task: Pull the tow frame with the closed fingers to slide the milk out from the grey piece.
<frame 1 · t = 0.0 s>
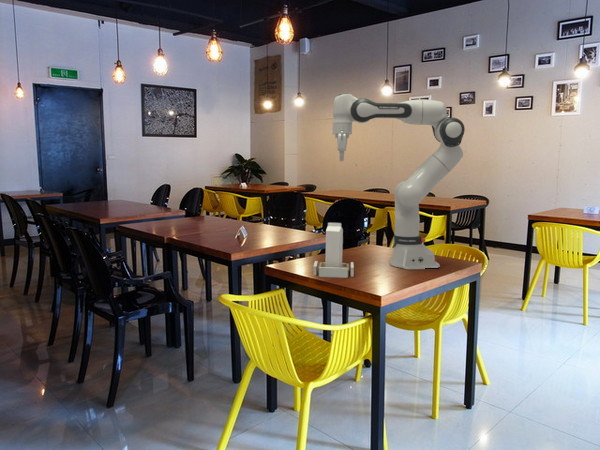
hand: (341, 161, 225), 48 cm above the table, tool pointing down, fingers open, 8 cm apart
tow frame: (333, 272, 213), on the table
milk: (333, 273, 213), resting in tow frame
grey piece: (333, 273, 213), on the table
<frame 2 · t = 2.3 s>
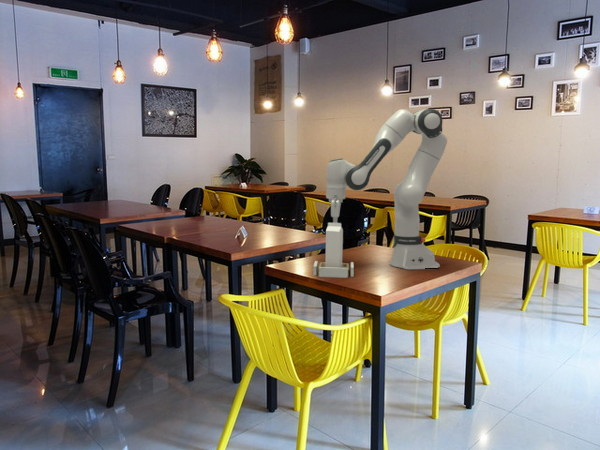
hand: (335, 224, 226), 19 cm above the table, tool pointing down, fingers closed
nothing on the table moved.
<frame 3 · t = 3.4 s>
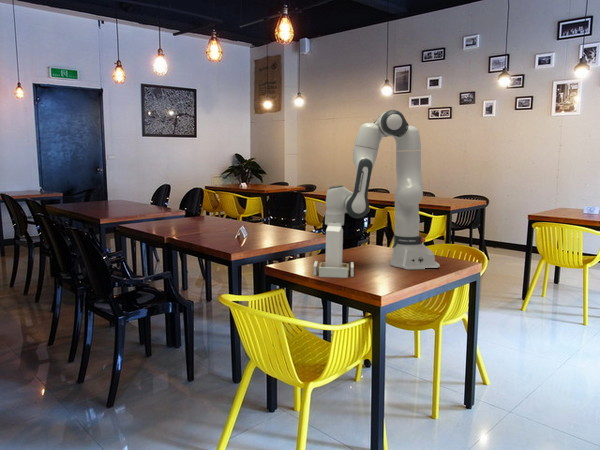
hand: (333, 250, 228), 7 cm above the table, tool pointing down, fingers closed
nothing on the table moved.
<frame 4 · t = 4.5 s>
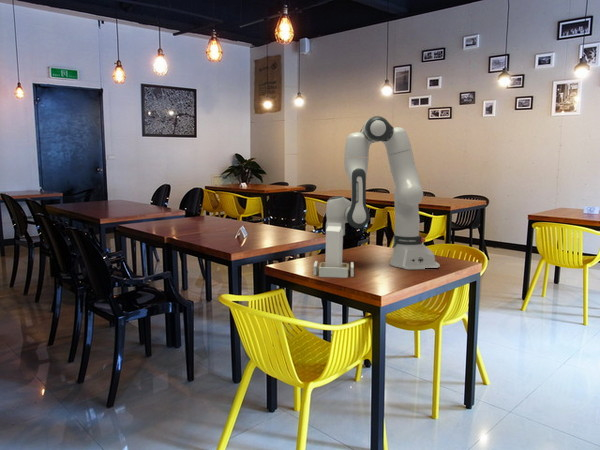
hand: (334, 260, 229), 2 cm above the table, tool pointing down, fingers closed
tow frame: (333, 272, 213), on the table, touching gripper
everything else where it was.
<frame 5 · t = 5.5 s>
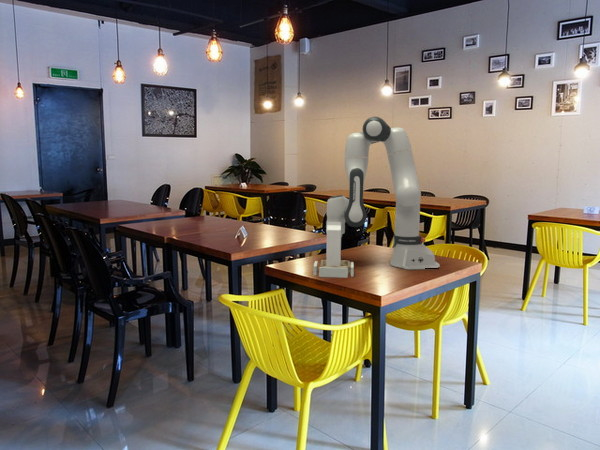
hand: (334, 258, 234), 2 cm above the table, tool pointing down, fingers closed
tow frame: (335, 269, 218), on the table, touching gripper, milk
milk: (333, 271, 216), resting in tow frame
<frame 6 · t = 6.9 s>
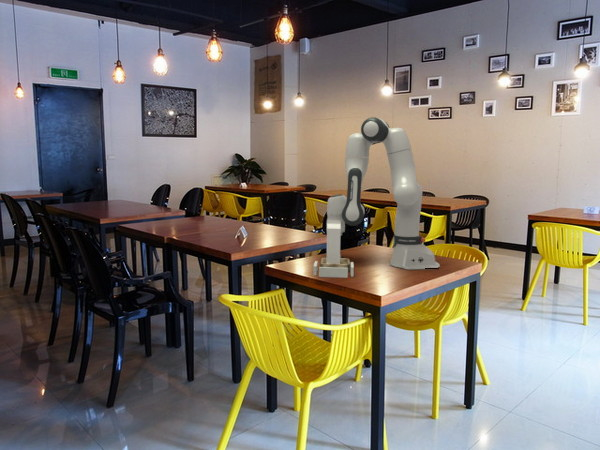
hand: (335, 255, 239), 2 cm above the table, tool pointing down, fingers closed
tow frame: (335, 267, 223), on the table, touching gripper, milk
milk: (333, 269, 221), resting in tow frame
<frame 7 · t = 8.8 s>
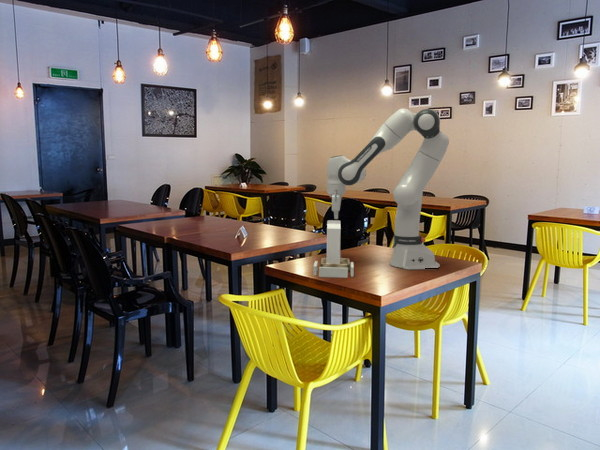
hand: (336, 218, 235), 20 cm above the table, tool pointing down, fingers closed
tow frame: (335, 267, 223), on the table
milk: (333, 269, 221), resting in tow frame
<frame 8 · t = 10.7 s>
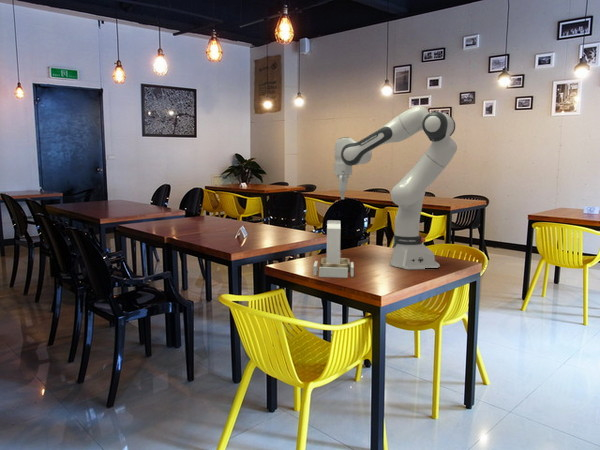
hand: (342, 199, 242), 29 cm above the table, tool pointing down, fingers closed
nothing on the table moved.
at the end: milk inside the target area (6.1 cm from its centre), resting in tow frame; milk moved 7.5 cm from its start; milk tilted 0° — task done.
